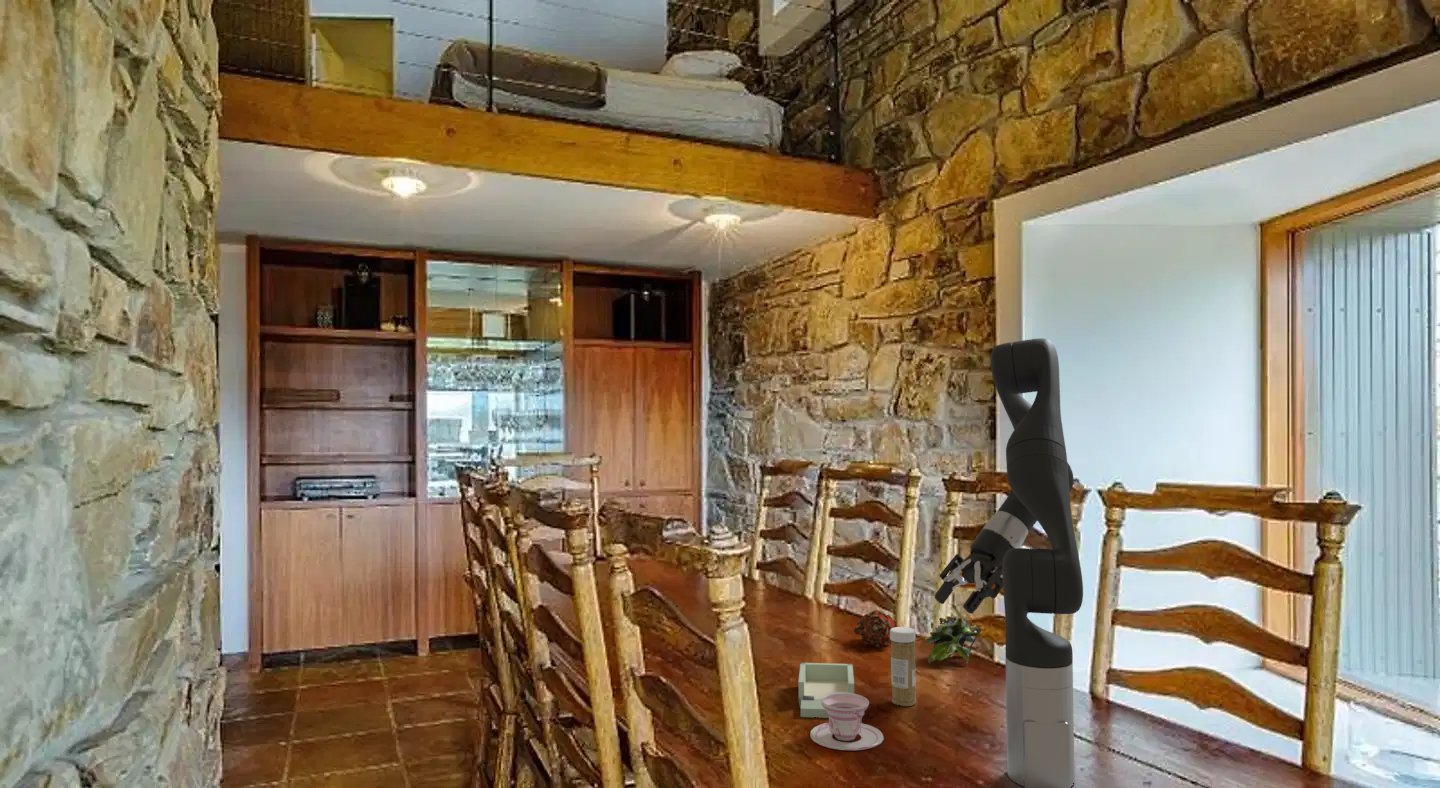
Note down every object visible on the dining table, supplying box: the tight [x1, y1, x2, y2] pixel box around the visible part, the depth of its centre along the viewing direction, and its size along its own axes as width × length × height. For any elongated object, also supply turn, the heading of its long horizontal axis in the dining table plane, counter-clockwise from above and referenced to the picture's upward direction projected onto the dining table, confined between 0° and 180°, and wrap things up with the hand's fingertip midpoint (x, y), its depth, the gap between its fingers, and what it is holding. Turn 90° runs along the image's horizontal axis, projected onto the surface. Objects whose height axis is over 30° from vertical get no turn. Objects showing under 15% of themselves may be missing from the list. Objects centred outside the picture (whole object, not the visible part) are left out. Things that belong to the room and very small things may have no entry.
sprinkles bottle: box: [890, 626, 917, 707], centre depth 160 cm, size 5×5×13 cm
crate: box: [798, 662, 855, 719], centre depth 161 cm, size 17×10×4 cm, turn 173°
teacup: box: [810, 692, 885, 752], centre depth 144 cm, size 12×12×6 cm
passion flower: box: [924, 615, 982, 667], centre depth 185 cm, size 11×11×12 cm
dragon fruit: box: [853, 609, 896, 649], centre depth 199 cm, size 8×8×12 cm
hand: (952, 605), depth 165 cm, fingers open, 8 cm apart
